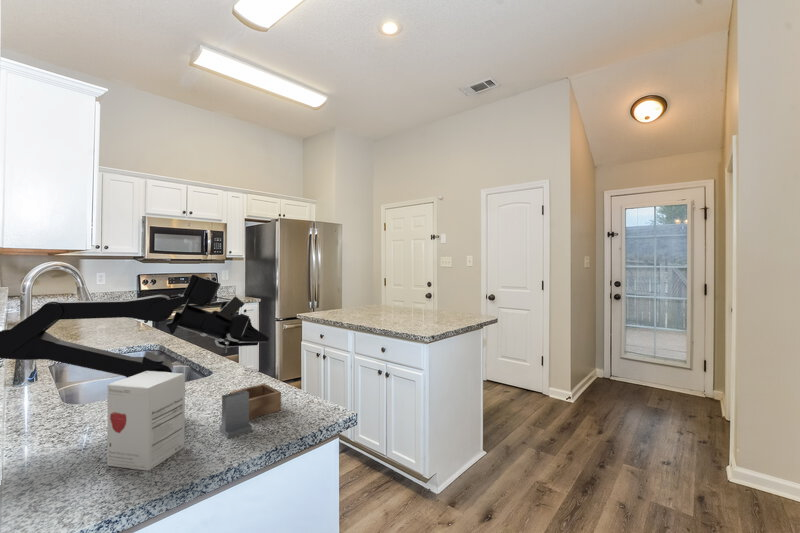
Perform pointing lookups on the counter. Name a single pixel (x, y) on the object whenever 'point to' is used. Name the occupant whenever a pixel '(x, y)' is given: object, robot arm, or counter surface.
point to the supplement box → (145, 419)
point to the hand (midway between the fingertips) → (262, 341)
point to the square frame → (262, 400)
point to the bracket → (235, 414)
